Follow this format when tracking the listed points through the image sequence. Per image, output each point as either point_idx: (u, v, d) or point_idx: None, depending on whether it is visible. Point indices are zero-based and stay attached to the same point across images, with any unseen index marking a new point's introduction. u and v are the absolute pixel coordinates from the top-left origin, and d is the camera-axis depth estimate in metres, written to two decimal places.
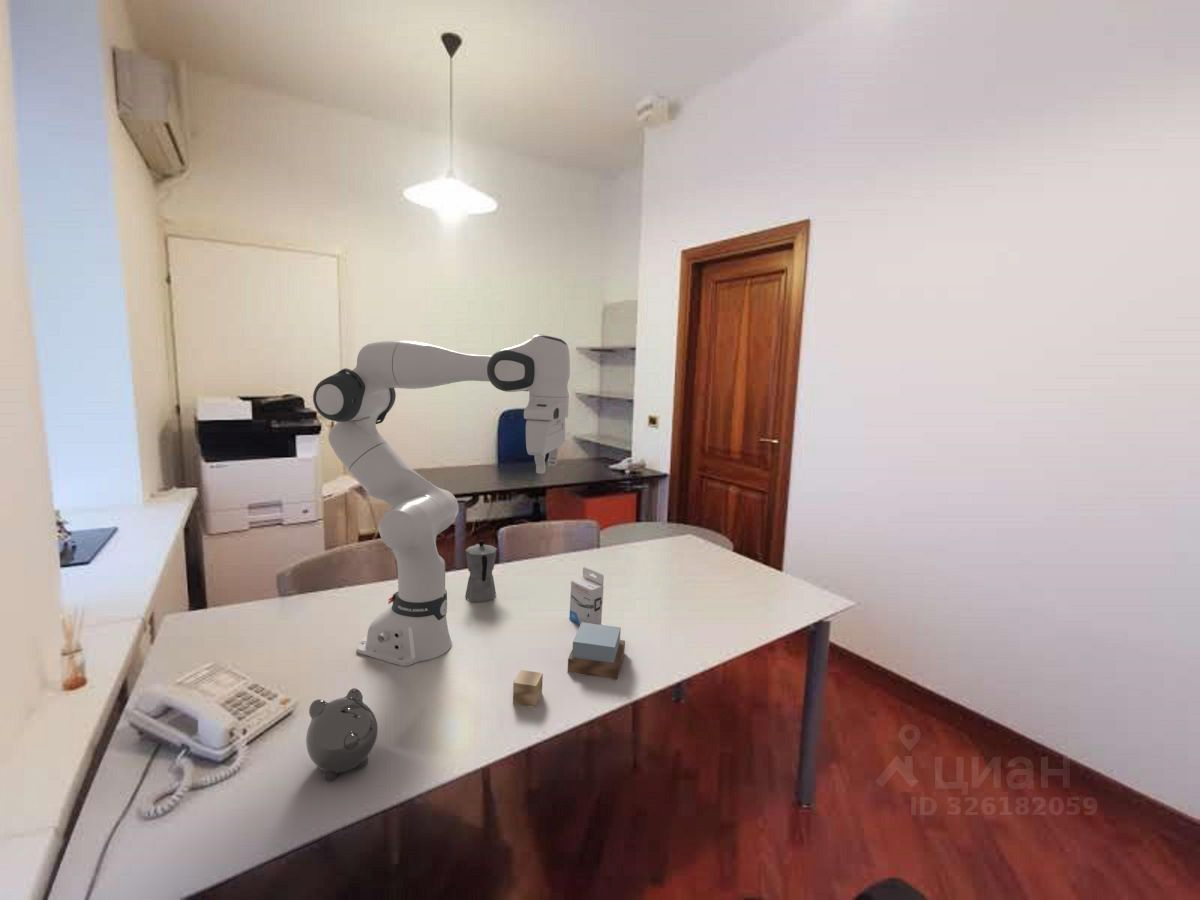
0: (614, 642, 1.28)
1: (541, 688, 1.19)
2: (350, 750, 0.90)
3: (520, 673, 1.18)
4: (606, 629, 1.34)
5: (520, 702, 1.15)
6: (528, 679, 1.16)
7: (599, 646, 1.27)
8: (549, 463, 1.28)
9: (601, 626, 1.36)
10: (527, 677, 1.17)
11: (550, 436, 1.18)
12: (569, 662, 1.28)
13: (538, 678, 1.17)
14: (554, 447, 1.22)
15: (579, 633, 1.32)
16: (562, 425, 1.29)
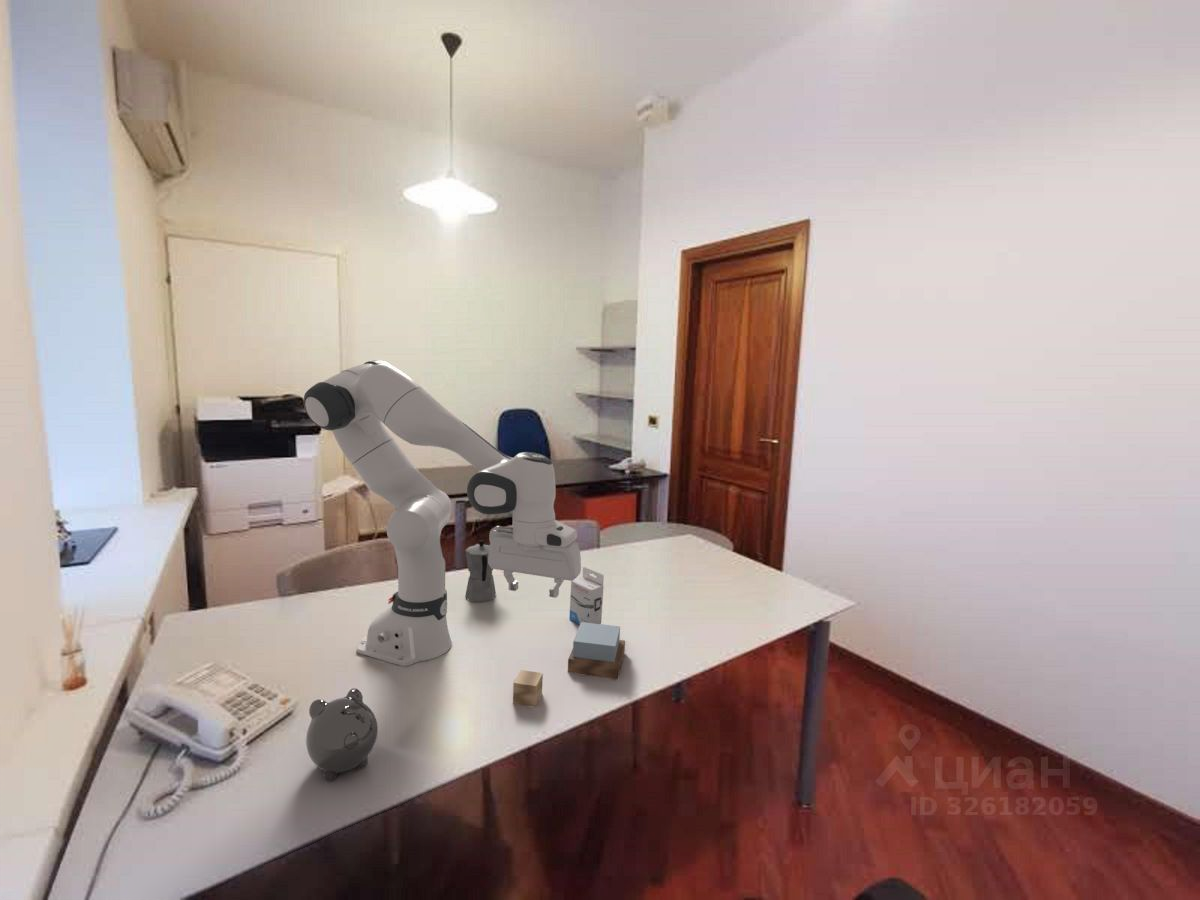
0: (614, 641, 1.29)
1: (541, 688, 1.19)
2: (350, 750, 0.90)
3: (520, 673, 1.18)
4: (606, 629, 1.34)
5: (520, 702, 1.15)
6: (528, 679, 1.16)
7: (600, 645, 1.27)
8: (515, 588, 1.16)
9: (601, 625, 1.36)
10: (527, 677, 1.17)
11: None
12: (569, 662, 1.28)
13: (538, 678, 1.17)
14: None
15: (579, 632, 1.32)
16: None
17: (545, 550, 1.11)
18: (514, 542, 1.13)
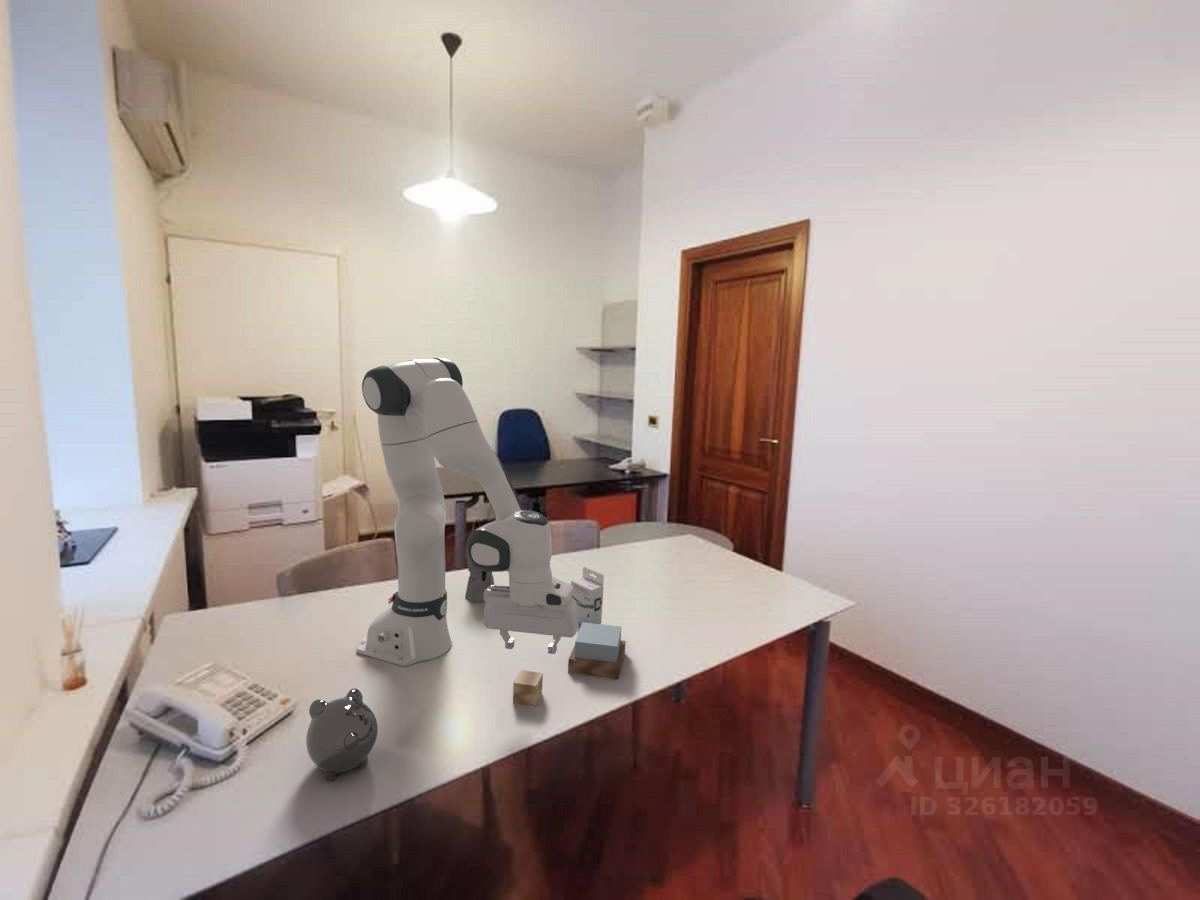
0: (616, 641, 1.29)
1: (541, 688, 1.19)
2: (350, 750, 0.90)
3: (520, 673, 1.18)
4: (607, 629, 1.34)
5: (520, 702, 1.15)
6: (528, 679, 1.16)
7: (602, 646, 1.27)
8: (512, 646, 1.15)
9: (602, 626, 1.36)
10: (527, 677, 1.17)
11: None
12: (569, 662, 1.28)
13: (538, 678, 1.17)
14: None
15: (581, 633, 1.32)
16: None
17: (544, 609, 1.11)
18: (511, 602, 1.12)
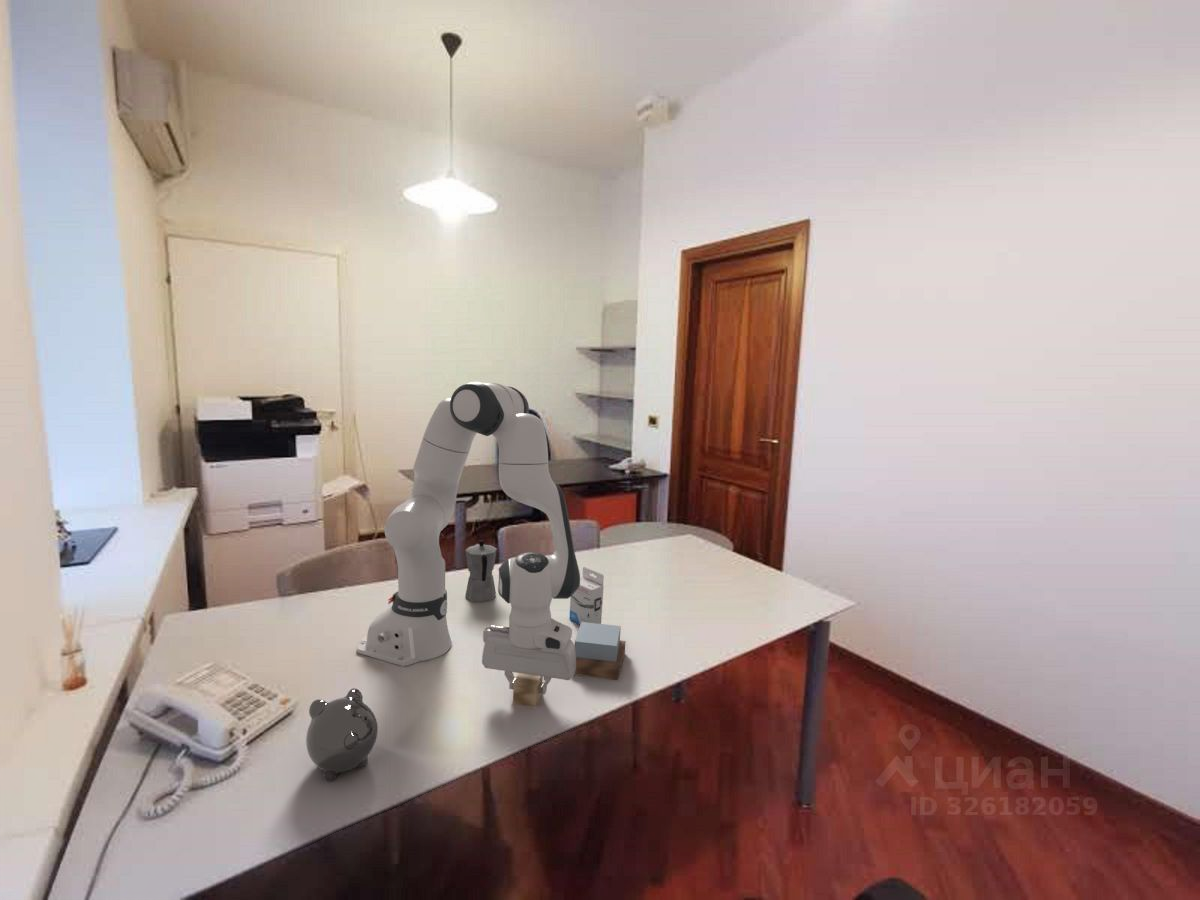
0: (616, 641, 1.29)
1: None
2: (350, 750, 0.90)
3: (520, 673, 1.18)
4: (606, 628, 1.35)
5: (520, 702, 1.15)
6: (528, 678, 1.16)
7: (601, 645, 1.27)
8: None
9: (601, 625, 1.36)
10: (527, 677, 1.17)
11: None
12: None
13: (538, 678, 1.16)
14: None
15: (580, 632, 1.32)
16: None
17: (543, 652, 1.13)
18: (510, 643, 1.14)
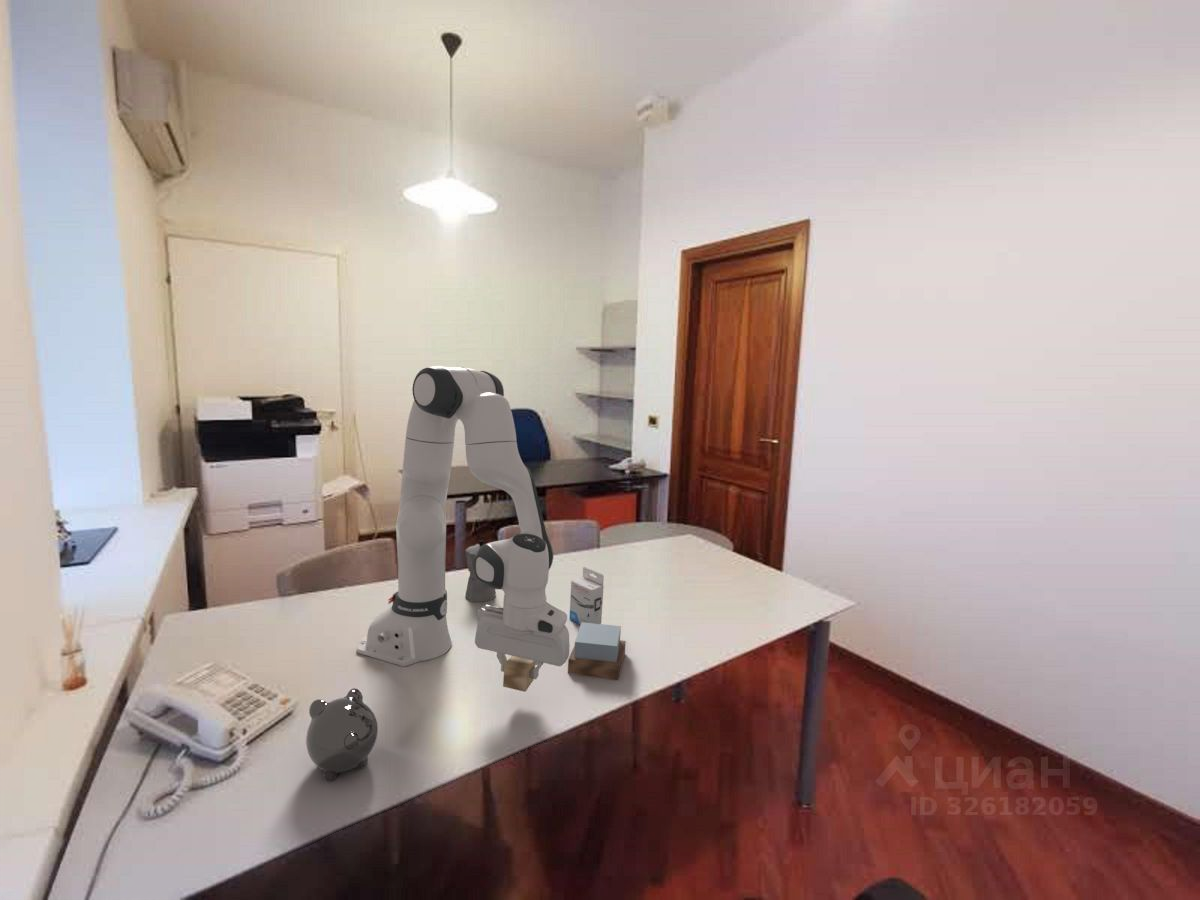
0: (616, 641, 1.28)
1: None
2: (350, 750, 0.90)
3: (513, 656, 1.16)
4: (606, 629, 1.34)
5: (510, 685, 1.13)
6: (520, 662, 1.14)
7: (601, 646, 1.27)
8: None
9: (601, 625, 1.36)
10: (519, 660, 1.14)
11: None
12: (569, 662, 1.27)
13: (530, 662, 1.14)
14: None
15: (580, 633, 1.32)
16: None
17: (535, 635, 1.10)
18: (503, 624, 1.12)
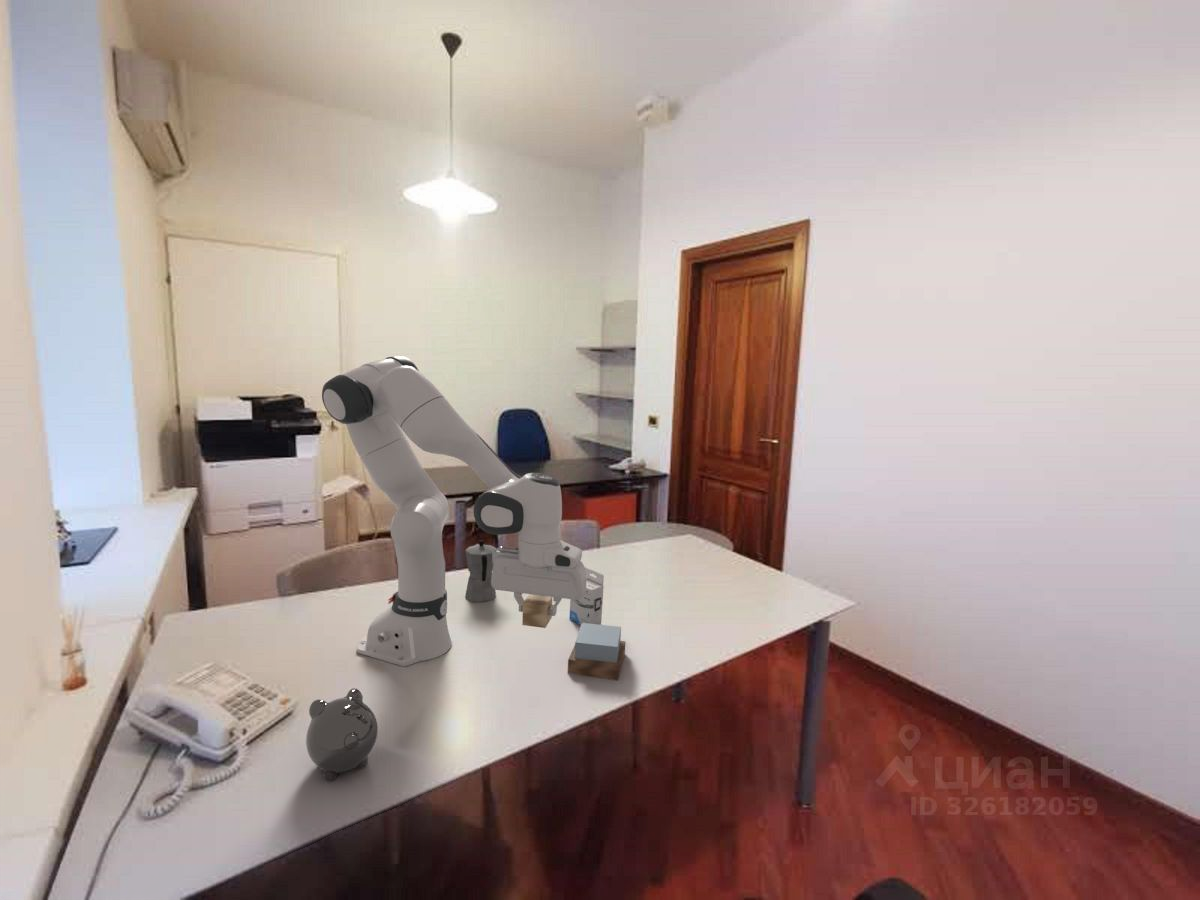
0: (616, 642, 1.28)
1: None
2: (350, 750, 0.90)
3: (529, 595, 1.17)
4: (607, 629, 1.34)
5: (529, 623, 1.14)
6: (538, 600, 1.15)
7: (602, 646, 1.27)
8: None
9: (602, 626, 1.36)
10: (537, 598, 1.15)
11: None
12: (569, 663, 1.27)
13: (548, 599, 1.15)
14: None
15: (581, 633, 1.32)
16: None
17: (552, 571, 1.11)
18: (520, 563, 1.13)
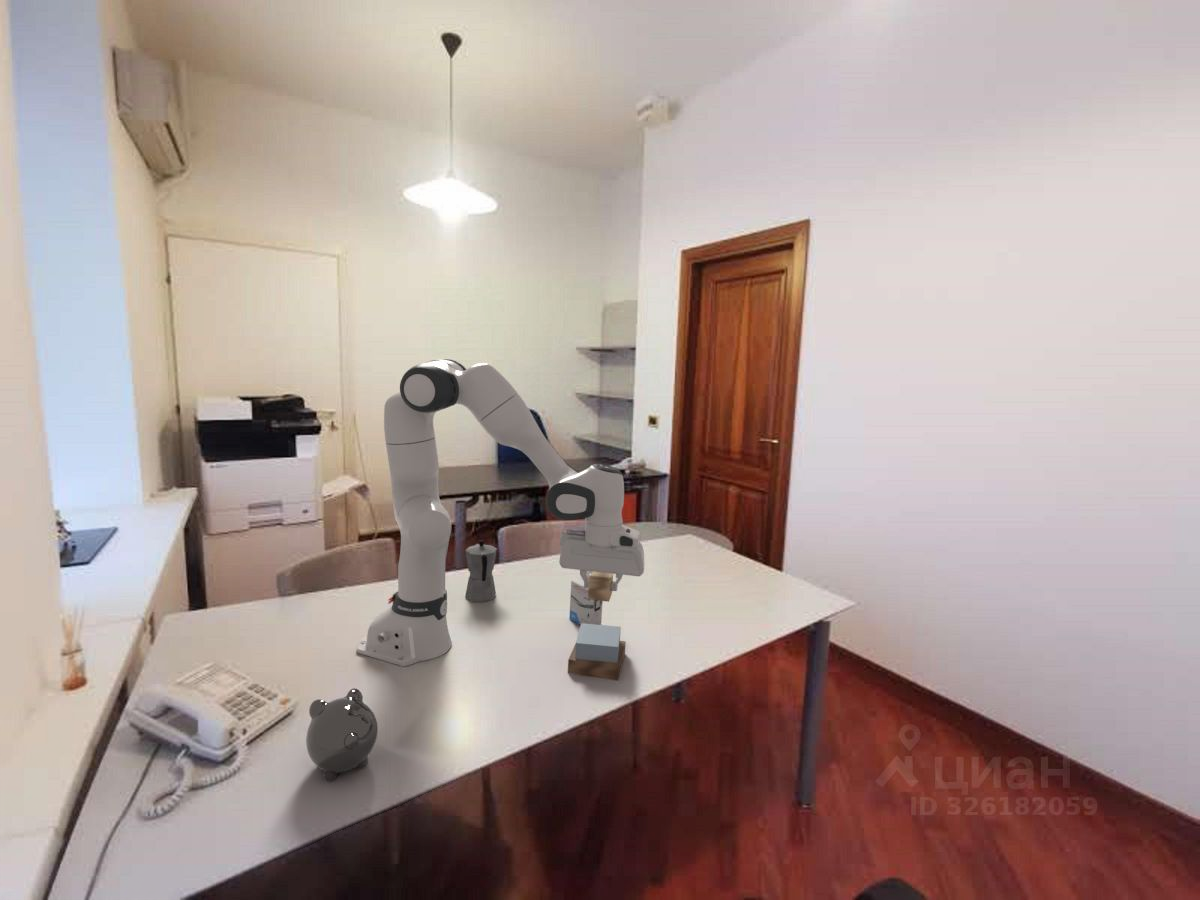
0: (617, 642, 1.28)
1: None
2: (350, 750, 0.90)
3: (593, 573, 1.31)
4: (607, 629, 1.34)
5: (594, 597, 1.28)
6: (601, 577, 1.29)
7: (602, 646, 1.27)
8: None
9: (601, 626, 1.36)
10: (600, 576, 1.29)
11: None
12: (569, 663, 1.27)
13: (610, 576, 1.29)
14: None
15: (581, 634, 1.31)
16: None
17: (616, 550, 1.25)
18: (586, 544, 1.27)
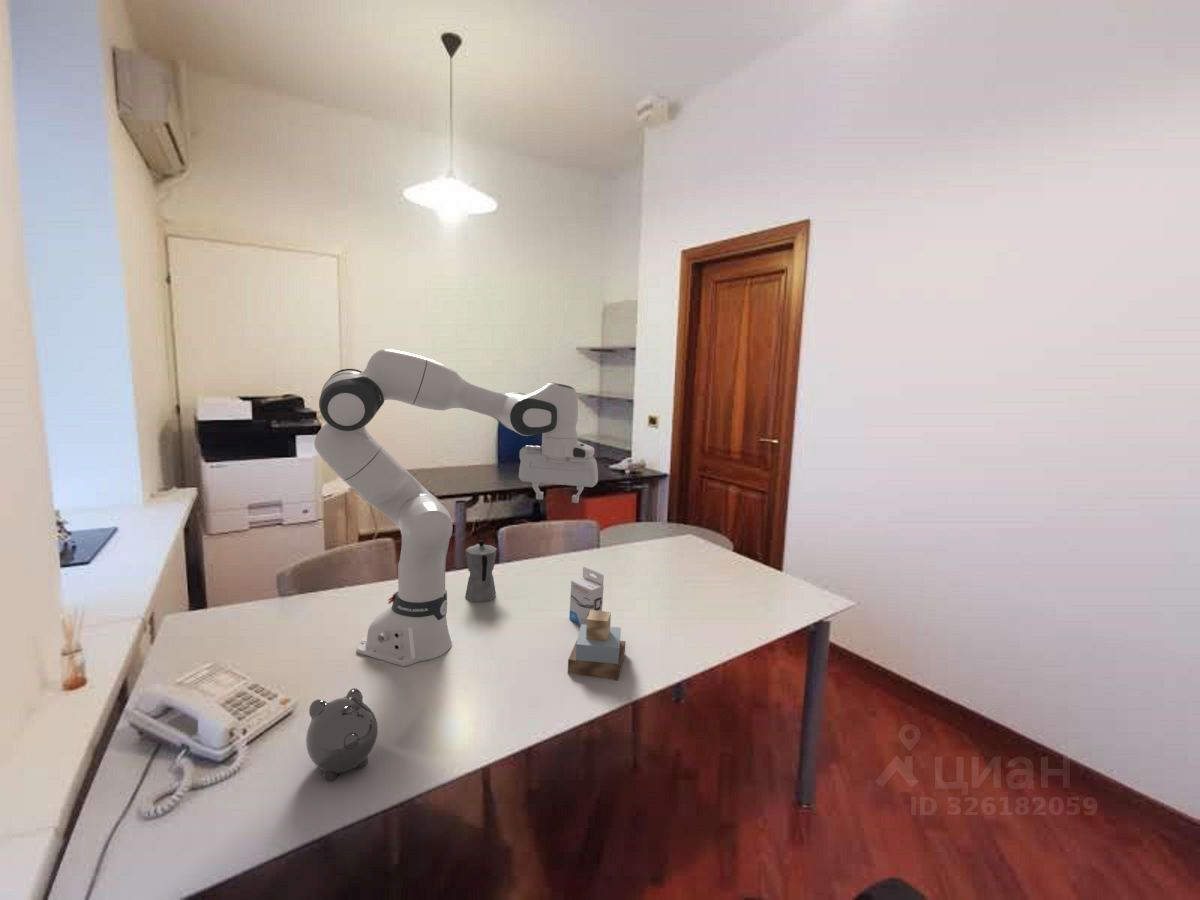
0: (617, 643, 1.28)
1: (609, 625, 1.32)
2: (350, 750, 0.90)
3: (591, 612, 1.32)
4: None
5: (593, 637, 1.29)
6: (599, 616, 1.30)
7: (603, 648, 1.26)
8: (541, 497, 1.39)
9: None
10: (598, 615, 1.31)
11: None
12: (569, 663, 1.27)
13: (608, 615, 1.30)
14: None
15: (581, 635, 1.31)
16: None
17: (570, 462, 1.35)
18: (543, 457, 1.36)
